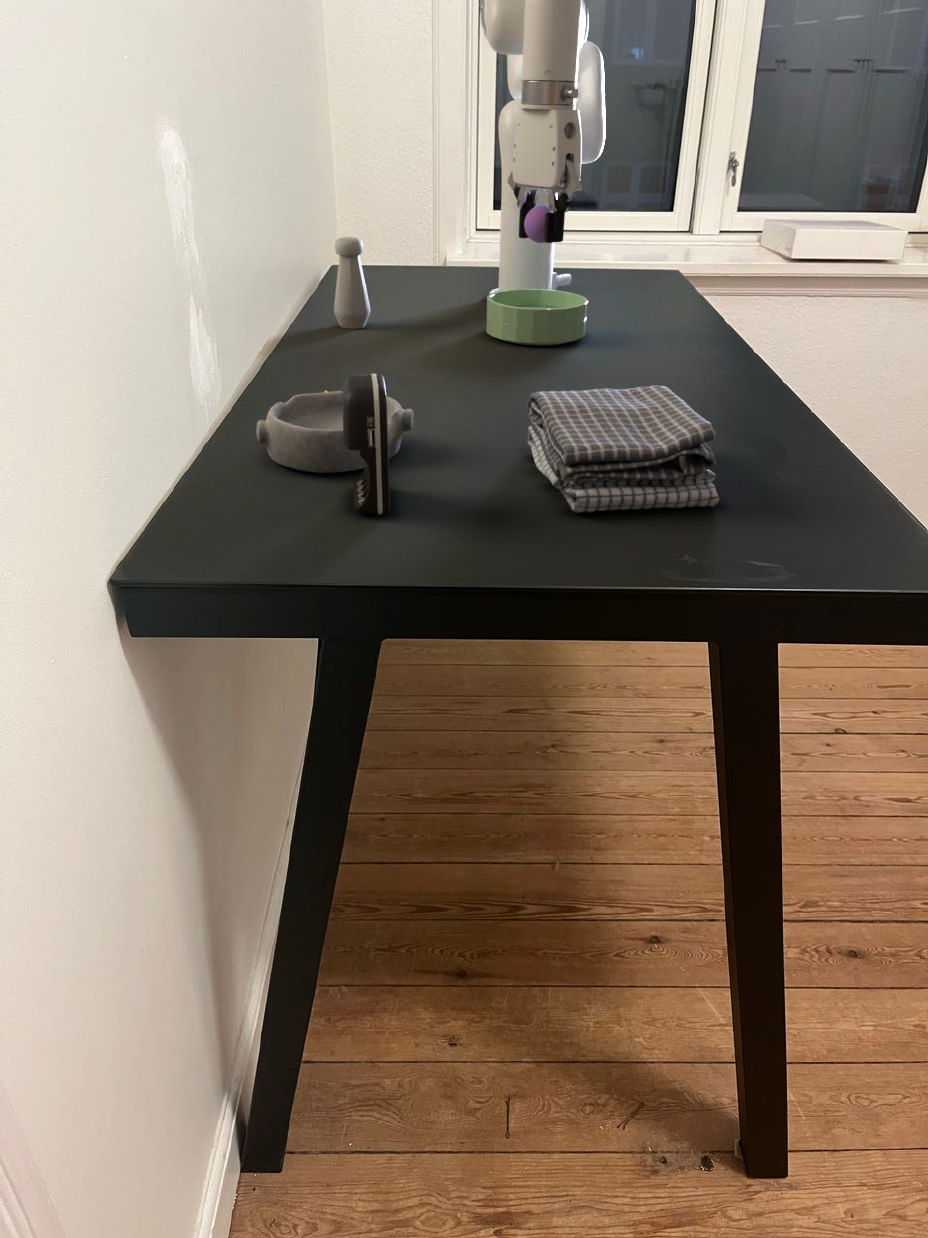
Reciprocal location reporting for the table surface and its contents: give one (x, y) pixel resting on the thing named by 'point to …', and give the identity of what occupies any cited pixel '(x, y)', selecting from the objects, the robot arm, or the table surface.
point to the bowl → (536, 316)
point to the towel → (622, 448)
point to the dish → (321, 433)
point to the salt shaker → (350, 285)
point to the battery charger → (368, 439)
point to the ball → (536, 223)
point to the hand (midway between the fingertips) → (540, 238)
